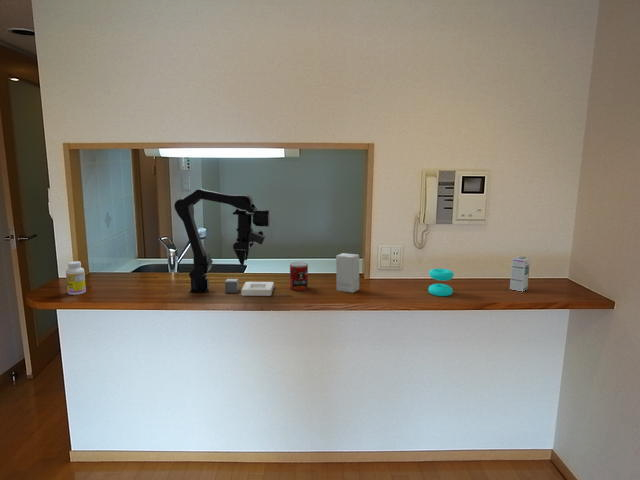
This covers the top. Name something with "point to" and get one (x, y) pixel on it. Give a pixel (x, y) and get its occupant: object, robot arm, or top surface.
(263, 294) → the socket plate
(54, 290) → the top surface
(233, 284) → the plug
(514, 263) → the syrup box
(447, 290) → the donuts
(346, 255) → the skincare box
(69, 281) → the supplement bottle
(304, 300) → the top surface
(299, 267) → the canned food
